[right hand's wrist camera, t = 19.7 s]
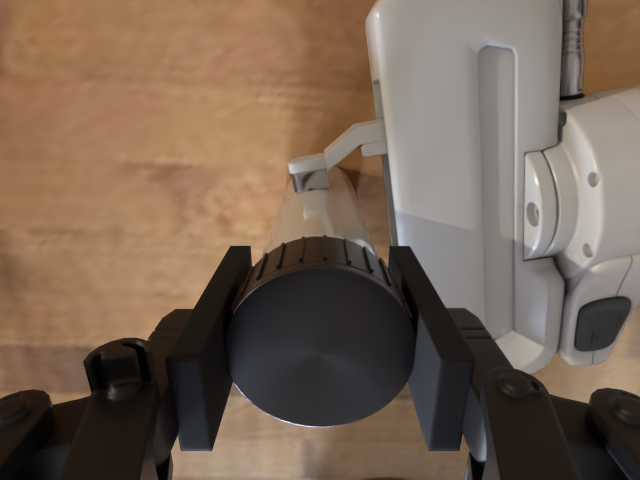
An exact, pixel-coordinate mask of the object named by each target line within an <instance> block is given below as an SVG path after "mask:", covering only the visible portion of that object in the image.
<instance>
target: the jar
mask: <svg viewBox="0 0 640 480" xmlns="http://www.w3.org/2000/svg"><path fill="white" fill-rule="evenodd" d="M327 173H328V179H329V188H325V189H320V190H315V189H312V188H310V189H309V190H308V191H306V192H303V193H295V192H294V190H293V185H292V181H291V179H290V180H289V182H288V184H287V187H286V190H285V193H284V195H283V198H282V201H281V204H280V206H279V209H278V212H277V215H276V218H275V220H274V223H273V226H272V229H271V232H270V234H269V237H268V240H267V243H266V245H265V248H264V251H263V254H262V257H263V255H264V253H267V254H268V253H269V252H270V251H272V250H273V249H275V248H277V247H279V246H280V245H281V243H283V242H284V243H287V242H290V241H293V240H297V239H300V238H301V237H303V236H305V238H306V237H315V236H323V235H327V237H335V238H340V239H344V238H346V239H348V241H350V242H353V243H356V244H358V245H360V246H362V247H364V246H366V247H367V248H368V250H369V251H370V252H372V253H373V254H374V255H376V256H377V257H378V254H377V251H376V248H375V245H374V243H373V240H372V237H371V234H370V231H369V229H368V226H367V223H366V220H365V217H364V215H363V212H362V209H361V206H360V203H359V201H358V198H357V195H356V192H355V189H354V187H353V184H352V182H351V180H350V178H349V177H348V176H347V175H346V174H345V173H344V172H343V171H342V170H341V169H339V168H338V167H336V166H334V167H332V168H331V169H330V170H329V171H327ZM262 257H261V259H262ZM378 258H379V257H378ZM261 259H260V260H261Z"/></svg>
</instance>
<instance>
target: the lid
mask: <svg viewBox="0 0 640 480" xmlns="http://www.w3.org/2000/svg"><path fill="white" fill-rule="evenodd" d="M230 313H232V315H231V318H230V320H229V323H228V326H227V328H226V333H225V339H224V347H225V357H226V364H227V368H228V371H229V373H230V375H231V378H232V380H233V382H234V383H235V385H236V386H237V388H238V389H239V390H240V392H241V393H242V394H243V395H244V396H245V397H246V398H247V399H248V400H249V401H250V402H251V403H252V404H253V405H255V406H256V407H257V408H259V409H260V410H262V411H263V412H265V413H267V414H269V415H270V416H272V417H275V418H277V419H280V420H282V421H285V422H289V423H292V424H296V425H302V426H310V427H331V426H340V425H344V424H349V423H352V422H355V421H359V420H361V419H364V418H366V417H368V416H370V415H372V414H374V413H376V412H377V411H379V410H381V409H382V408H383V407H385V406H386V405H387V404H389V403H390V402H391V401H392V400H393V399H394V398H395V397H396V396H397V395H398V394H399V392H400V391H401V390H402V389H403V387H404V386H405V384H406V383H407V381H408V379H409V377H410V375H411V372H412V370H413V367H414V360H415V351H416V335H415V330H414V326H413V324H412V321H413V316H412V314H411V311H410V309H409V307H408V304H407V302H406V299H405V297H404V294H403V292H402V290H401V288H400V286H399V283H398V281H397V278H396V276H395V274H394V273H392V274H391V272H390V270H389V269H388V268H387V267H386V265H385V263H384V260H383V259H382V258H380V259H379V258H378V257H377V256H376V255H374V254H373V253H372V252H370V251H369V250H368V248H367V247H366V246H364V247H362V246H360V245H358V244H356V243H353V242H350V241H348V239H346V238H344V239H340V238H335V237H327V235H323V236H315V237H306V238H305V236H303V237H301V238H300V239H297V240H293V241H290V242H287V243H284V242H283V243H281V245H280V246H279V247H277V248H275V249H273V250H272V251H270V252H269V253H268V254H267V253H264V255H263V257H262V259H261V260H260V261H259V262H258V263H257V264H256V265H255V266H254V267H253V266H251V268H250V269H249V272H248V274H247V277H246V279H245V282H244V283H243V282H242V283H241V285H240V288H239V290H238V293H237V295H236V297H235V300H234V302H233V305H232V307H231V310H230Z"/></svg>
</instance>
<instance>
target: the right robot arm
mask: <svg viewBox="0 0 640 480" xmlns="http://www.w3.org/2000/svg"><path fill="white" fill-rule="evenodd" d="M251 266H252V260H251V246H230V248H229V249H228V251H227V253H226V254H225V256H224V258H223V260H222V261H221V263H220V265H219V266H218V268H217V270H216V272H215V273H214V275H213V277H212V278H211V280H210V282H209V283H208V285H207V287H206V289H205V290H204V292H203V294H202V295H201V297H200V299H199V301H198V302H197V304H196V306H195V307H194V309H175V310H174V311H172V312H171V313H169V314H168V315H166V316H165V317H164V318H162V320H161V321H160V322H159V324H158V325H157V327H156V328H155V331H153V332H152V334H151V335H150V337H149V340H147V341H145V340H143V339H139V338H123V339H119V340H115V341H111V342H109V343H106V344H104V345H102V346H100V347H98V348H97V349H95V350H94V351H92V352H91V353H90V354H89V355H88V356H87V357H86V359H85V360H84V361H83V363H84V367H85V370H86V374H87V378H88V381H89V385H90V389H91V392H92V393H91V396H88V397H85V398H82V399H77V400H73V401H68V402H64V403H60V404H55V405H52V403H51V399H50V396H49V395H48V394H47V393H45V392H44V391H40V390H26V391H20V392H17V393H13V394H10V395H8V396H5V397H3V398H1V399H0V480H172V474H173V461H172V455H171V450H172V447H173V445H174V442H175V440H176V438H177V435H178V438H179V443H180V449H181V451H212V449H213V446H214V442H215V439H216V436H217V432H218V429H219V426H220V423H221V419H222V416H223V413H224V409H225V406H226V403H227V399H228V396H229V393H230V389H231V386H232V383H233V380H232V378H231V375H230V373H229V371H228V368H227V364H226V357H225V347H224V339H225V333H226V328H227V326H228V323H229V320H230V318H231V315H232V313H230V310H231V307H232V305H233V302H234V300H235V297H236V295H237V293H238V290H239V288H240V285H241V283H242V282H243V283H244V282H245V279H246V277H247V274H248V272H249V269H250V268H251ZM388 269H389V270H390V272H391V274H392V273H394V274H395V276H396V278H397V281H398V283H399V286H400V288H401V290H402V292H403V294H404V297H405V299H406V302H407V304H408V307H409V309H410V311H411V314H412V316H413V321H412V324H413V326H414V330H415V335H416V351H415V360H414V367H413V370H412V372H411V375H410V377H409V379H408V381H407V382H408V385H409V389H410V392H411V395H412V399H413V402H414V405H415V409H416V412H417V415H418V419H419V422H420V425H421V428H422V432H423V435H424V438H425V442H426V445H427V448H428V451H459V450H460V445H461V439H462V433H463V435H464V437H465V440H466V442H467V445H468V447H469V449H470V450H469V455H468V461H467V466H466V471H465V476H464V480H640V397H639V396H637V395H635V394H632V393H629V392H626V391H623V390H618V389H611V388H604V389H597V390H596V391H595V392H593V393H592V394H591V397H590V400H589V403H583V402H579V401H574V400H570V399H565V398H561V397H557V396H554V395H550V394H549V393H548V391H547V389H546V388H545V386H544V385H543V384H542V383H541V382H540V381H539V380H537V379H536V378H535V377H534V376H532V375H530V374H528V373H526V372H524V371H522V370H518V369H514V367H513V366H512V365H511V363H510V362H509V360H508V359H507V357H506V356H505V355H504V353H503V352H502V350H501V349H500V348H499V346H498V345H497V343H496V342H495V340H494V339H492V336H491V335H490V333H489V332H488V330H486V328H485V326H484V325H483V323H482V322H481V321H480V319H479V318H478V317H477V316H476V315H474V314H473V313H471V312H470V311H469V310H467V309H466V308H446V307H445V305H444V304H443V302H442V300H441V298H440V297H439V295H438V293H437V292H436V290H435V288H434V287H433V285H432V283H431V281H430V280H429V278H428V276H427V275H426V273H425V271H424V269H423V268H422V266H421V264H420V263H419V261H418V259H417V257H416V256H415V254H414V252H413V251H412V249H411V247H410V246H390V249H389V263H388Z"/></svg>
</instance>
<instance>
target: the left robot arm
mask: <svg viewBox="0 0 640 480" xmlns="http://www.w3.org/2000/svg"><path fill="white" fill-rule="evenodd" d="M587 12H588V0H377V1H376V2H375V4H374V5H373V7H372V9H371V10H370V12H369V14H368V16H367V19H366V24H365V28H366V37H367V45H368V53H369V62H370V70H371V78H372V86H373V95H374V103H375V111H376V120H371V121H366V122H361V123H356V124H353V125H352V126H351V127H350V128H348V129H347V130H346V131H345V132H344V133H343V134H342V135H340V136H339V137H338V138H337V139H336V140H335V141H333V142H332V143H331V144H330V145H329V146H328V147H327V148H325V149H324V152H322V153H317V154H312V155H306V156H301V157H296V158H293V159H290V160H289V162H288V167H289V172H290V176H291V181H292V185H293V190H294V192H295V193H303V192H306V191H308V190H309V189H310V188H312V189H315V190H320V189H325V188H329V179H328V173H327V171H329V170H330V169H331V168H332V167H334V166H335V165H336V164H337V163H339V162H340V161H341V160H342V159H343V158H345V157H346V156H347V155H348V154H350V153H351V152H352V151H353V150H354V149H356V148H357V147H358V149H359V151H360V152H361V154H362V155H363V156H364V157H369V156H375V155H381V161H382V169H383V177H384V185H385V194H386V202H387V210H388V218H389V227H390V235H391V243H392V246H410V247H411V249H412V251H413V252H414V254H415V256H416V257H417V259H418V261H419V263H420V264H421V266H422V268H423V269H424V271H425V273H426V275H427V276H428V278H429V280H430V281H431V283H432V285H433V287H434V288H435V290H436V292H437V293H438V295H439V297H440V298H441V300H442V302H443V304H444V305H445V307H446V308H466V309H467V310H469V311H470V312H471V313H473V314H474V315H476V316H477V317H478V318H479V319H480V321H481V322H482V323H483V325H484V326H485V328H486V330H488V332H489V333H490V335H491V336H492V339H494V340H495V342H496V343H497V345H498V346H499V348H500V349H501V350H502V352H503V353H504V355H505V356H506V357H507V359H508V360H509V362H510V363H511V365H512V366H513V367H514V369H518V370H522V371H524V372H526V373H528V374H533V373H535V372H537V371H539V370H541V369H542V368H544V367H545V366H546V365H547V364H548V363H549V362H550V361H551V360H552V359H553V357H554V356H555V354H556V353H557V354H558V355H559V356H560V357H561V358H562V359H563V360H564V361H566V362H567V363H568V364H569V365H571V366H574V367H585V366H592V365H597V364H599V363H602V362H603V361H605V360H606V359H607V358H608V357H609V356H610V354H611V353H612V351H613V349H614V347H615V345H616V343H617V341H618V339H619V337H620V335H621V333H622V331H623V329H624V327H625V326H626V324H627V322H628V320H629V318H630V317H631V315H632V313H633V311H634V310H635V308H636V306H637V305H638V303H639V302H640V84H638V85H632V86H627V87H621V88H616V89H611V90H605V91H600V92H594V93H589V94H583V81H584V64H585V51H583V50H584V45H583V43H584V38H583V36H584V31H583V29H584V21H585V18H586V17H587Z"/></svg>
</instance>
